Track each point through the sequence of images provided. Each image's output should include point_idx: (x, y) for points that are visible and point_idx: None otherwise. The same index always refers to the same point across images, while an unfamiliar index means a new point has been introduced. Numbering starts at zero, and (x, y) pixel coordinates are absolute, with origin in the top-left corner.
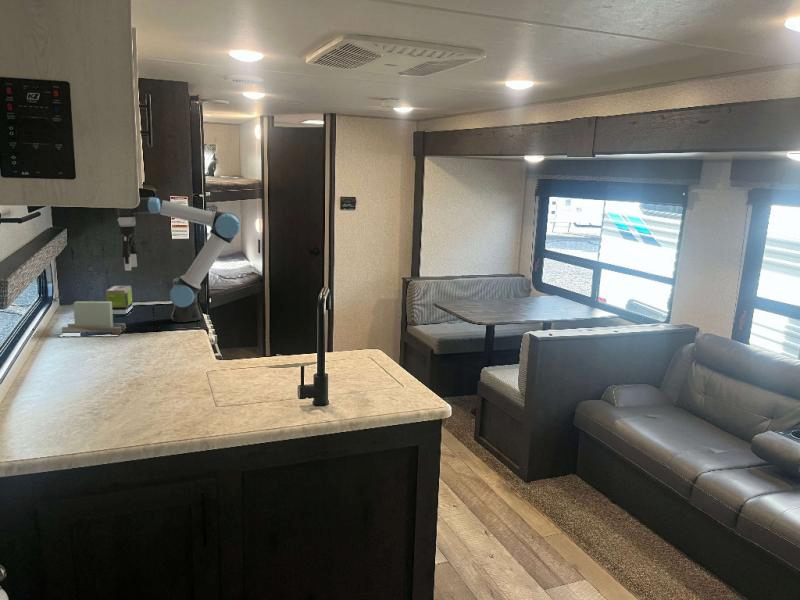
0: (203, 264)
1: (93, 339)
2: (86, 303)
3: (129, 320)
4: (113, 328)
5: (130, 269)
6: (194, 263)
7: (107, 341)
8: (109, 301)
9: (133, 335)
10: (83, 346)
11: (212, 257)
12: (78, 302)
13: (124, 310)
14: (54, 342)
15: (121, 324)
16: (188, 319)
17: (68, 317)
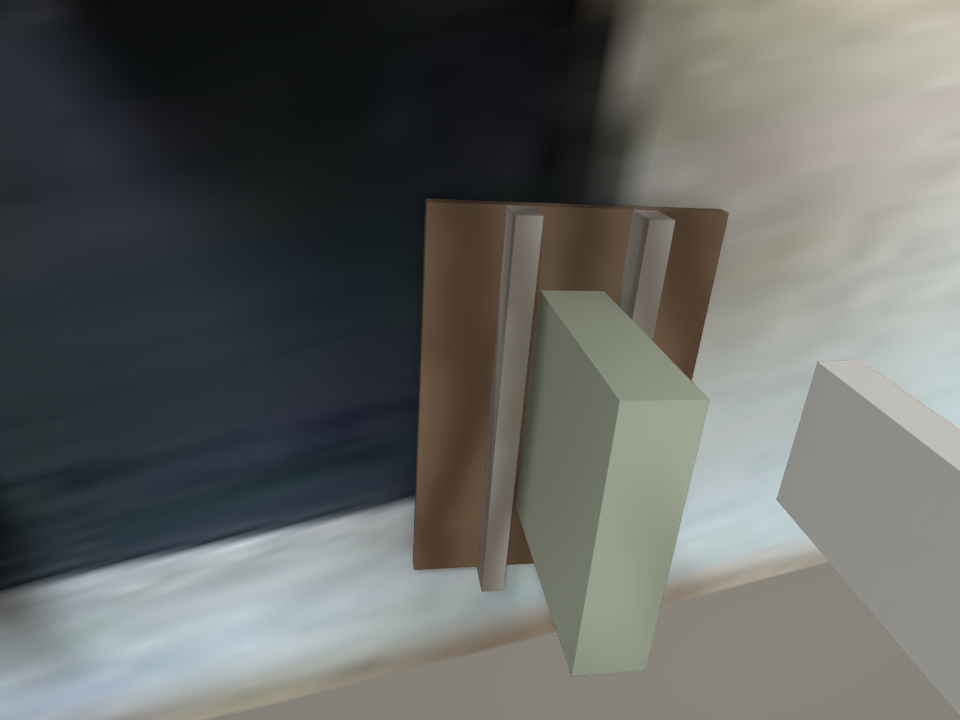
0: None
1: (752, 351)
2: (664, 581)
3: (86, 257)
4: (661, 272)
5: (875, 383)
6: None
7: (836, 249)
8: (621, 421)
9: (702, 96)
10: (913, 355)
11: None
12: (629, 646)
13: None
14: (763, 526)
15: (539, 241)
16: None
17: (38, 695)
